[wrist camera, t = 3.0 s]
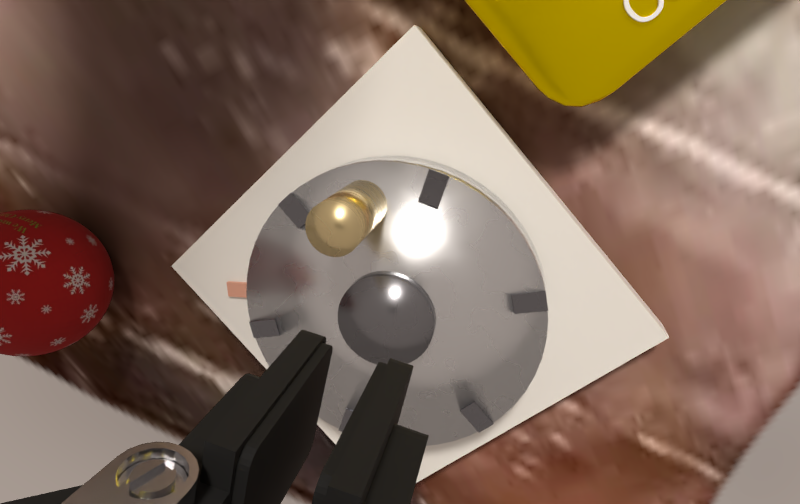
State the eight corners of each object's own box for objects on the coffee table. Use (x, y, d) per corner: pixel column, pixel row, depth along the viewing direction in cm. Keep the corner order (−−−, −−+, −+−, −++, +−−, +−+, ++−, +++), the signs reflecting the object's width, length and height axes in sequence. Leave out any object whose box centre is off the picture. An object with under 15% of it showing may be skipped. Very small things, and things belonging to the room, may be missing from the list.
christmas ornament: (154, 227, 35) (17, 285, 25) (133, 337, 38) (4, 425, 29) (37, 175, 35) (-139, 213, 26) (25, 287, 39) (-134, 357, 29)
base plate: (420, 26, 27) (413, 24, 26) (662, 324, 29) (670, 339, 28) (185, 258, 35) (169, 267, 33) (392, 483, 37) (385, 502, 35)
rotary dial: (564, 419, 30) (572, 506, 24) (301, 430, 35) (253, 506, 29) (524, 128, 26) (522, 147, 20) (229, 182, 30) (155, 211, 24)
